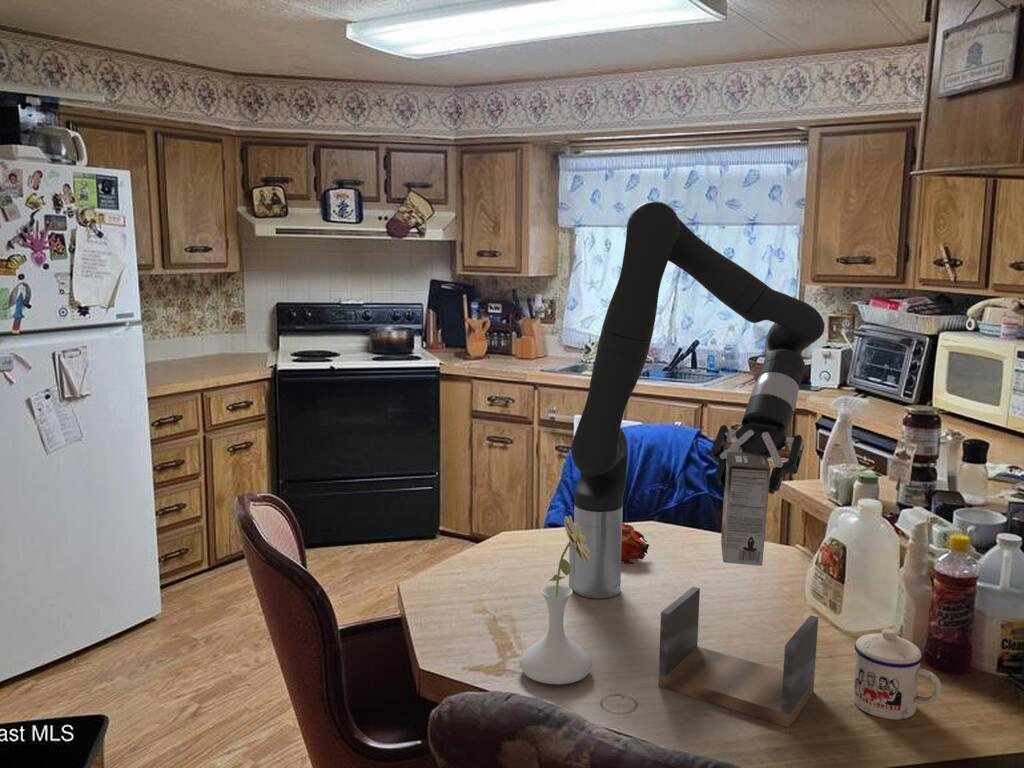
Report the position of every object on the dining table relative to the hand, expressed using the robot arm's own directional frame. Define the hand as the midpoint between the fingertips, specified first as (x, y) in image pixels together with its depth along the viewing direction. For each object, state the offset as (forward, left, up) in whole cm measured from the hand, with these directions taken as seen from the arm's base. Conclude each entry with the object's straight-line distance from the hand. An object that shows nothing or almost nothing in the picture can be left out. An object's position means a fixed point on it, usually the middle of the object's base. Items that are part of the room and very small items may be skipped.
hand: (744, 486), depth 140 cm
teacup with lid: (+25, -4, -29) cm, 38 cm away
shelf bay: (+4, -12, -28) cm, 31 cm away
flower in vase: (-21, -23, -29) cm, 42 cm away
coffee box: (0, -1, -11) cm, 11 cm away
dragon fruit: (-35, +27, -29) cm, 52 cm away
